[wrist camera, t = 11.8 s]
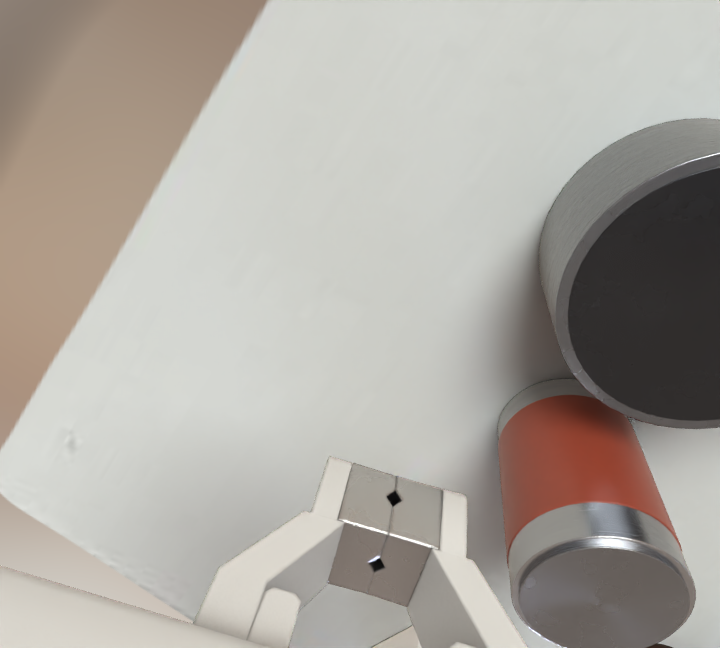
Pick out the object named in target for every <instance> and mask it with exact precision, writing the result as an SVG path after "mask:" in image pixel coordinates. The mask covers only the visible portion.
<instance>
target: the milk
mask: <svg viewBox="0 0 720 648" xmlns="http://www.w3.org/2000/svg"><path fill="white" fill-rule="evenodd" d="M372 648H422V647H421V645H420V642H419V639H418V637H417V634H416V632H415V629H414V627H413V626H411V627H409V628H407V629H406V630H404V631H402V632H400V633H398V634H396V635H394V636H392V637H391V638H389V639H387V640H385V641H383V642H381V643H379V644H377V645H376V646H374V647H372Z"/></svg>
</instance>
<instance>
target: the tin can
mask: <svg viewBox="0 0 720 648" xmlns="http://www.w3.org/2000/svg"><path fill="white" fill-rule="evenodd" d="M498 456H499V468H500V480H501V493H502V505H503V517H504V530H505V542H506V554H507V564H508V569H509V577H510V589H511V598H512V603H513V606H514V608H515V611H516V612H517V614H518V616H519V617H520V619H521V620H522V621H523V622H524V623H525V624H526V625H527V626H528V627H529V628H530V629H531V630H532V631H534V632H535V633H537V634H538V635H540V636H541V637H543V638H545V639H547V640H549V641H551V642H553V643H555V644H557V645H560V646H562V647H565V648H646V647H649V646H652V645H654V644H656V643H658V642H661V641H662V640H664V639H666V638H667V637H669V636H670V635H671V634H673V633H674V632H675V631H676V630H678V629H679V628H680V627H681V626H682V625H683V624H684V623H685V622H686V620H687V619H688V617H689V616H690V614H691V612H692V610H693V608H694V604H695V599H696V590H695V585H694V581H693V579H692V576H691V574H690V571H689V569H688V566H687V564H686V561H685V559H684V556H683V554H682V549H681V545H680V543H679V541H678V538H677V536H676V533H675V531H674V528H673V526H672V523H671V521H670V518H669V516H668V513H667V511H666V508H665V506H664V503H663V501H662V498H661V496H660V493H659V491H658V488H657V486H656V483H655V481H654V478H653V476H652V474H651V471H650V469H649V466H648V464H647V461H646V459H645V456H644V454H643V451H642V449H641V446H640V444H639V441H638V439H637V436H636V434H635V431H634V429H633V427H632V425H631V423H630V422H629V419H628V417H627V416H625V415H623V414H621V413H619V412H617V411H615V410H613V409H611V408H609V407H608V406H606V405H605V404H603V403H602V402H601V401H599V400H598V399H596V398H595V397H594V396H593V395H591V394H590V393H589V392H588V391H587V390H586V389H585V388H584V387H583V386H582V385H581V384H580V382H579V381H578V380H577V379H555V380H549V381H544V382H541V383H538V384H535V385H532V386H530V387H528V388H526V389H525V390H523V391H521V392H520V393H518V394H517V395H516V396H515V397H513V399H512V400H511V401H510V402H509V403H508V404H507V405H506V407H505V408H504V410H503V412H502V414H501V416H500V419H499V422H498Z"/></svg>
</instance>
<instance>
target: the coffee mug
mask: <svg viewBox="0 0 720 648" xmlns="http://www.w3.org/2000/svg"><path fill="white" fill-rule="evenodd" d="M646 648H672V647H670V646H666V645H662V644H654V645H652V646H649V647H646Z"/></svg>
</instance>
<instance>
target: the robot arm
mask: <svg viewBox="0 0 720 648" xmlns="http://www.w3.org/2000/svg"><path fill="white" fill-rule="evenodd" d="M351 466H352V467H351ZM350 470H351V471H350ZM327 583H329V584H333V585H336V586H340V587H344V588H347V589H351V590H355V591H359V592H362V593H366V594H369V595H372V596H375V597H378V598H381V599H385V600H388V601H391V602H394V603H397V604H400V605H403V606H406V607H407V611H408V614H409V616H410V619H411V622H412V624H413V627H414V629H415V632H416V634H417V637H418V639H419V642H420V645H421V647H422V648H528V647H527V645H526V643H525V642H524V640H523V639H522V637H521V635H520V634H519V632H518V631H517V629H516V627H515V626H514V624H513V623H512V621H511V619H510V618H509V616H508V615H507V613H506V611H505V610H504V608H503V607H502V605H501V604H500V602H499V600H498V599H497V597H496V596H495V594H494V592H493V591H492V589H491V588H490V586H489V584H488V583H487V581H486V580H485V578H484V576H483V575H482V573H481V572H480V570H479V568H478V567H477V565H476V564H475V562H474V561H473V560H470V559H467V497H466V495H464V494H460V493H456V492H453V491H449V490H445V489H441V488H437V487H434V486H430V485H426V484H423V483H419V482H416V481H412V480H409V479H405V478H401V477H398V476H394V475H391V474H388V473H384V472H381V471H378V470H375V469H372V468H368V467H365V466H362V465H359V464H356V463H353V464H352V463H351V462H347V461H344V460H341V459H338V458H335V457H332V456H330V457H329V459H328V460H327V463H326V466H325V469H324V472H323V476H322V479H321V482H320V485H319V488H318V491H317V494H316V497H315V500H314V503H313V507H312V510H311V513H310V512H307V511H303V512H301V513H300V514H298V515H297V516H295V517H294V518H292V519H291V520H289V521H288V522H286V523H285V524H283V525H282V526H280V527H279V528H277V529H276V530H274V531H273V532H271V533H270V534H268V535H267V536H265V537H264V538H262V539H261V540H259V541H258V542H256V543H255V544H253V545H252V546H250V547H249V548H247V549H246V550H244V551H243V552H241V553H240V554H238V555H237V556H235V557H234V558H232V559H231V560H229V561H228V562H226V563H225V564H223V565H222V566H220V567H219V568H218V570H217V572H216V574H215V576H214V578H213V581H212V583H211V585H210V587H209V589H208V591H207V594H206V596H205V598H204V600H203V602H202V604H201V607H200V609H199V611H198V613H197V615H196V617H195V620H194V622H193V624H191V623H188V622H184V621H181V620H178V619H175V618H171V617H168V616H165V615H162V614H158V613H155V612H152V611H148V610H145V609H142V608H139V607H135V606H132V605H128V604H125V603H122V602H119V601H116V600H112V599H109V598H106V597H102V596H99V595H96V594H92V593H89V592H86V591H83V590H79V589H76V588H72V587H70V586H66V585H63V584H60V583H56V582H53V581H50V580H47V579H43V578H40V577H37V576H33V575H30V574H27V573H23V572H20V571H17V570H14V569H10V568H7V567H4V566H1V565H0V648H289V644H290V641H291V637H292V633H293V630H294V626H295V622H296V618H297V615H298V612H299V611H300V610H301V609H302V608H303V607H304V606H305V605H306V604H307V603H308V602H309V601H310V600H312V599H313V598H314V597H315V596H316V595H317V594H318V593H319V592H320V591H321V590H322V589H323V588H324V587H325V586H326V585H327Z"/></svg>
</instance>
